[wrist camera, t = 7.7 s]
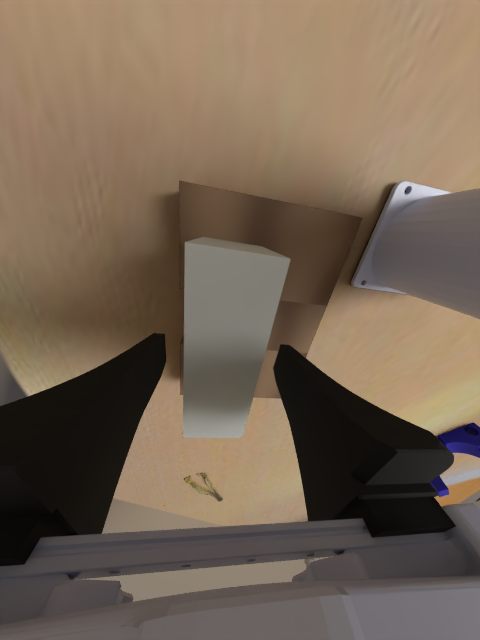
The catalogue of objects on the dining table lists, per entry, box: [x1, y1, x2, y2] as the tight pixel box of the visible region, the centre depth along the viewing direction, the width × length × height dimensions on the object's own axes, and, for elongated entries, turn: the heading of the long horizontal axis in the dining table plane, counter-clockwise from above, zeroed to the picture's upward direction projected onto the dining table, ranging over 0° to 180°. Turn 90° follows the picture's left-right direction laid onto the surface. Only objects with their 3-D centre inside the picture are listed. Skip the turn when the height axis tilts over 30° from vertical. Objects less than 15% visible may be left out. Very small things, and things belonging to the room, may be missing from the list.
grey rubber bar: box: [183, 237, 291, 438], centre depth 12 cm, size 4×12×6 cm, turn 171°
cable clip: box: [429, 423, 480, 497], centre depth 30 cm, size 12×4×6 cm, turn 123°
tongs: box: [185, 473, 223, 501], centre depth 34 cm, size 4×13×2 cm, turn 25°
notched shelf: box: [179, 181, 362, 398], centre depth 16 cm, size 12×18×2 cm, turn 171°
